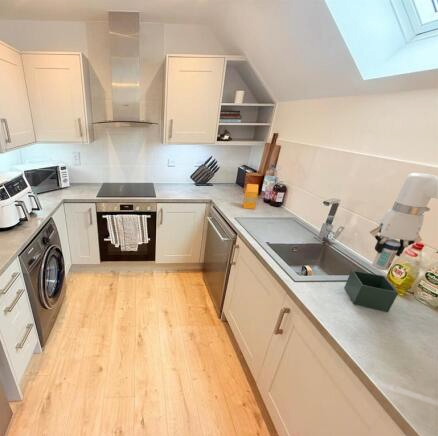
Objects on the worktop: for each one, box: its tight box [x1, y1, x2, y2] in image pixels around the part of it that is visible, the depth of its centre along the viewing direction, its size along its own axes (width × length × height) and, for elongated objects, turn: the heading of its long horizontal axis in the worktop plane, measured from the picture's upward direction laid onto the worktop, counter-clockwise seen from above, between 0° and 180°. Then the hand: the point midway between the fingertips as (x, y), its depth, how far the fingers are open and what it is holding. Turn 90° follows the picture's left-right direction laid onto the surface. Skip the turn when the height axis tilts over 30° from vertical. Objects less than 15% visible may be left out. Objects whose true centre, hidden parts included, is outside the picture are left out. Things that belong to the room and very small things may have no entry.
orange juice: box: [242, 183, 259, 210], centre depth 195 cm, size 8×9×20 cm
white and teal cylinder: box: [372, 238, 401, 271], centre depth 90 cm, size 5×5×12 cm
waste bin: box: [343, 269, 399, 313], centre depth 97 cm, size 11×11×10 cm
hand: (386, 252), depth 90 cm, fingers closed on white and teal cylinder, 4 cm apart
